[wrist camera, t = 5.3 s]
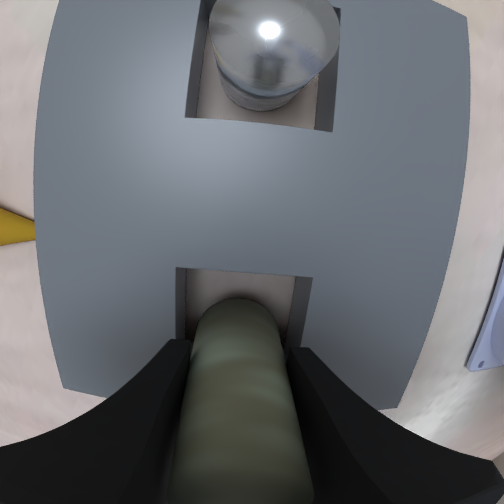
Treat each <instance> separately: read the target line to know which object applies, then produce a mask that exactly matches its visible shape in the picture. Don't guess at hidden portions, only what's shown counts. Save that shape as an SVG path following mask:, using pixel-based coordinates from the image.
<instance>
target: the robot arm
mask: <svg viewBox="0 0 504 504" xmlns="http://www.w3.org/2000/svg"><path fill="white" fill-rule="evenodd" d="M189 366H190V341H188V340H178V339H170V340H168V341H167V342H166V343H165V345H164V346H163V347H162V348H161V349H160V350H159V351H158V353H157V354H156V355H155V356H154V357H153V358H152V359H151V360H150V361H149V362H148V363H147V364H146V365H145V366H144V367H143V368H142V369H141V370H140V371H139V372H138V373H137V374H136V375H135V376H134V377H133V378H132V379H130V380H129V381H128V382H127V383H126V384H125V385H123V386H122V387H121V388H120V389H119V390H118V391H116V392H115V393H114V394H112V395H111V396H110V397H109V398H107V399H106V400H104V401H103V402H102V403H100V404H99V405H97V406H96V407H94V408H93V409H91V410H90V411H88V412H86V413H85V414H83V415H81V416H79V417H77V418H75V419H74V420H72V421H70V422H68V423H66V424H64V425H62V426H60V427H58V428H56V429H53V430H51V431H49V432H46V433H44V434H41V435H38V436H36V437H33V438H30V439H27V440H24V441H21V442H17V443H13V444H10V445H6V446H2V447H0V504H169V502H168V499H167V490H168V484H169V477H170V471H171V465H172V459H173V453H174V447H175V441H176V435H177V429H178V424H179V418H180V412H181V407H182V401H183V396H184V391H185V386H186V381H187V376H188V371H189ZM499 366H504V259H503V263H502V267H501V270H500V274H499V277H498V281H497V284H496V288H495V291H494V294H493V297H492V300H491V303H490V306H489V309H488V312H487V315H486V318H485V321H484V323H483V326H482V329H481V331H480V334H479V336H478V339H477V341H476V344H475V346H474V349H473V351H472V353H471V356H470V358H469V360H468V363H467V368H468V369H469V371H470V372H473V371H479V370H484V369H489V368H494V367H499ZM286 368H287V372H288V377H289V381H290V386H291V390H292V395H293V399H294V404H295V408H296V413H297V417H298V422H299V426H300V431H301V435H302V440H303V444H304V449H305V453H306V458H307V463H308V467H309V472H310V476H311V481H312V486H313V490H314V499H313V501H312V503H311V504H496V503H497V502H498V501H499V499H500V498H501V497H502V496H503V494H504V479H503V477H502V475H501V474H500V472H499V471H498V469H497V468H496V466H495V465H494V463H493V462H492V461H490V460H486V459H482V458H478V457H474V456H471V455H467V454H463V453H460V452H457V451H454V450H451V449H449V448H446V447H443V446H441V445H438V444H436V443H433V442H431V441H429V440H427V439H425V438H422V437H421V436H419V435H417V434H415V433H413V432H411V431H409V430H407V429H405V428H404V427H402V426H400V425H398V424H397V423H395V422H394V421H392V420H391V419H389V418H388V417H386V416H385V415H383V414H382V413H380V412H379V411H377V410H376V409H375V408H373V407H372V406H371V405H369V404H368V403H367V402H366V401H364V400H363V399H362V398H361V397H360V396H358V395H357V394H356V393H355V392H354V391H352V390H351V389H350V388H349V387H348V386H347V385H346V384H345V383H344V382H343V381H342V380H341V379H340V378H338V377H337V376H336V375H335V374H334V373H333V372H332V371H331V370H330V369H329V368H328V367H327V365H326V364H325V363H324V362H323V361H322V360H321V359H320V358H319V357H318V356H317V355H316V354H315V353H314V352H313V351H312V350H311V349H310V348H309V347H289V353H288V358H287V363H286Z"/></svg>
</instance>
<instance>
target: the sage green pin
mask: <svg viewBox="0 0 504 504" xmlns="http://www.w3.org/2000/svg"><path fill="white" fill-rule="evenodd" d="M167 499H168V502H169V504H311V503H312V501H313V499H314V490H313V486H312V481H311V476H310V472H309V467H308V463H307V458H306V453H305V449H304V444H303V440H302V435H301V431H300V426H299V422H298V417H297V413H296V408H295V404H294V399H293V395H292V390H291V386H290V381H289V377H288V372H287V368H286V363H285V359H284V355H283V350H282V346H281V341H280V337H279V332H278V328H277V324H276V321H275V319H274V318H273V316H272V315H271V313H270V312H269V311H268V310H267V309H266V308H264V307H263V306H262V305H260V304H258V303H256V302H253V301H250V300H246V299H228V300H224V301H221V302H218V303H216V304H214V305H213V306H211V307H210V308H209V309H207V310H206V311H205V312H204V314H203V315H202V316H201V318H200V320H199V322H198V325H197V330H196V335H195V340H194V345H193V350H192V355H191V360H190V366H189V371H188V376H187V381H186V386H185V391H184V396H183V401H182V407H181V412H180V418H179V424H178V429H177V435H176V441H175V447H174V453H173V459H172V465H171V471H170V477H169V484H168V490H167Z"/></svg>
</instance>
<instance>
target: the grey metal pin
mask: <svg viewBox="0 0 504 504" xmlns="http://www.w3.org/2000/svg"><path fill="white" fill-rule="evenodd" d="M209 32H210V37H211V41H212V45H213V50H214V54H215V58H216V63H217V67H218V71H219V76H220V80H221V84H222V87H223V89H224V91H225V92H226V94H227V95H228V96H229V98H230V99H231V100H232V101H234V102H235V103H236V104H238V105H240V106H241V107H244V108H246V109H249V110H253V111H269V110H274V109H277V108H279V107H281V106H283V105H285V104H286V103H287V102H289V101H290V100H291V99H292V98H293V97H294V96H295V95H296V94H297V93H298V92H299V91H300V90H301V89H302V88H303V87H304V86H305V85H306V84H307V83H308V82H309V81H310V80H311V79H313V78H314V77H315V76H316V75H317V74H318V73H319V72H320V71H321V70H322V69H323V68H324V67H325V66H326V65H327V64H328V63H329V62H330V61H331V59H332V58H333V57H334V55H335V53H336V51H337V49H338V45H339V42H340V25H339V20H338V17H337V14H336V12H335V10H334V9H333V7H332V5H331V4H330V3H329V1H328V0H217V1H216V2H215V4H214V6H213V8H212V11H211V14H210V18H209Z"/></svg>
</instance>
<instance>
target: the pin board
mask: <svg viewBox="0 0 504 504" xmlns="http://www.w3.org/2000/svg"><path fill="white" fill-rule="evenodd" d="M216 1H217V0H59V3H58V7H57V10H56V14H55V18H54V21H53V25H52V29H51V33H50V38H49V42H48V47H47V52H46V57H45V62H44V67H43V73H42V79H41V86H40V93H39V101H38V109H37V119H36V131H35V146H34V221H35V236H36V248H37V258H38V267H39V275H40V283H41V290H42V296H43V302H44V308H45V314H46V319H47V324H48V329H49V334H50V338H51V343H52V347H53V351H54V355H55V359H56V363H57V367H58V371H59V374H60V378H61V382H62V385H63V388H65V389H69V390H73V391H78V392H82V393H86V394H91V395H95V396H100V397H105V398H109V397H110V396H111V395H112V394H114V393H115V392H116V391H118V390H119V389H120V388H121V387H122V386H123V385H125V384H126V383H127V382H128V381H129V380H130V379H132V378H133V377H134V376H135V375H136V374H137V373H138V372H139V371H140V370H141V369H142V368H143V367H144V366H145V365H146V364H147V363H148V362H149V361H150V360H151V359H152V358H153V357H154V356H155V355H156V354H157V353H158V351H159V350H160V349H161V348H162V347H163V346H164V345H165V343H166V342H167V341H168V340H170V339H178V340H185V293H186V268H194V269H206V270H219V271H232V272H245V273H258V274H272V275H286V276H296V280H295V287H294V293H293V300H292V306H291V312H290V318H289V324H288V330H287V336H286V342H285V348H282V350H283V355H284V359H285V363H287V358H288V353H289V347H309V348H310V349H311V350H312V351H313V352H314V353H315V354H316V355H317V356H318V357H319V358H320V359H321V360H322V361H323V362H324V363H325V364H326V365H327V367H328V368H329V369H330V370H331V371H332V372H333V373H334V374H335V375H336V376H337V377H338V378H340V379H341V380H342V381H343V382H344V383H345V384H346V385H347V386H348V387H349V388H350V389H351V390H352V391H354V392H355V393H356V394H357V395H358V396H360V397H361V398H362V399H363V400H364V401H366V402H367V403H368V404H369V405H371V406H372V407H373V408H375V409H376V410H382V409H391V408H397V407H398V405H399V402H400V400H401V398H402V396H403V393H404V391H405V389H406V387H407V384H408V382H409V380H410V377H411V375H412V372H413V370H414V367H415V365H416V362H417V360H418V357H419V355H420V352H421V349H422V347H423V344H424V341H425V338H426V336H427V333H428V330H429V327H430V324H431V321H432V318H433V315H434V312H435V309H436V305H437V302H438V299H439V295H440V292H441V288H442V285H443V281H444V278H445V274H446V270H447V266H448V262H449V258H450V254H451V249H452V245H453V240H454V236H455V231H456V226H457V221H458V215H459V210H460V204H461V198H462V191H463V184H464V177H465V169H466V160H467V150H468V138H469V122H470V53H469V38H468V26H467V17H465V16H464V15H462V14H460V13H458V12H456V11H454V10H452V9H450V8H448V7H445V6H443V5H441V4H439V3H437V2H435V1H432V0H328V1H329V3H330V4H331V5H332V7H333V9H334V10H335V12H336V14H337V17H338V20H339V25H340V42H339V45H338V49H337V51H336V53H335V55H334V57H333V58H332V59H331V61H330V62H329V63H328V64H327V65H326V66H325V67H324V68H323V69H322V70H321V71H320V73H319V86H318V97H317V108H316V119H315V129H314V130H312V129H306V128H299V127H291V126H283V125H275V124H266V123H257V122H246V121H234V120H221V119H205V118H196V112H197V103H198V94H199V85H200V77H201V69H202V61H203V54H204V46H205V39H206V32H207V26H208V20H209V18H210V14H211V11H212V8H213V6H214V4H215V2H216ZM193 345H194V342H190V360H191V355H192V350H193Z"/></svg>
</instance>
